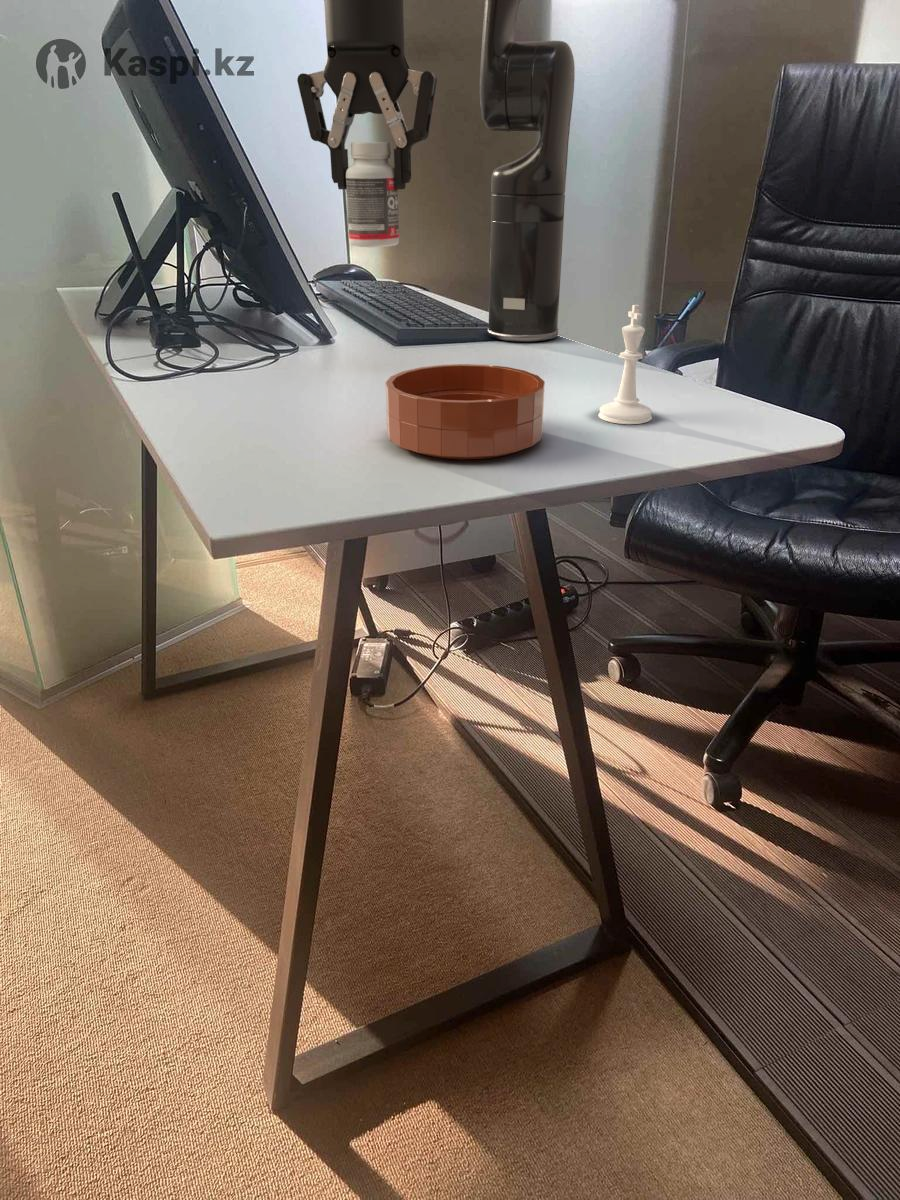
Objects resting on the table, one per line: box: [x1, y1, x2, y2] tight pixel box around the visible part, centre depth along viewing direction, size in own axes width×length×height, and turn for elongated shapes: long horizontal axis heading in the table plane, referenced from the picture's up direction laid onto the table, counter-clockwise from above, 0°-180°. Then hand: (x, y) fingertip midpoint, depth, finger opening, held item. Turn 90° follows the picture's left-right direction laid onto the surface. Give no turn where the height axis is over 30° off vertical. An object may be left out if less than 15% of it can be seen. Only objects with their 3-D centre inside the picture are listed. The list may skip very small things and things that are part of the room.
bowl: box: [384, 363, 546, 460], centre depth 73 cm, size 13×13×5 cm
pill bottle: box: [345, 141, 400, 248], centre depth 89 cm, size 5×5×10 cm
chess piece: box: [598, 304, 653, 425], centre depth 78 cm, size 5×5×10 cm
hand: (371, 188), depth 89 cm, fingers closed on pill bottle, 5 cm apart
